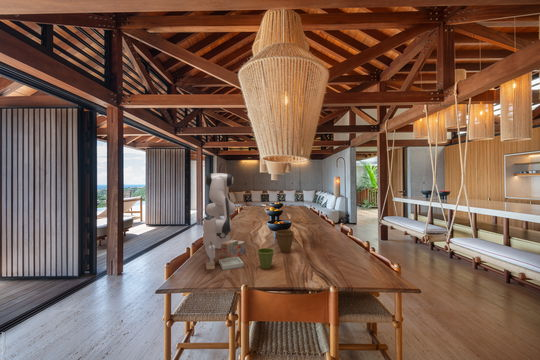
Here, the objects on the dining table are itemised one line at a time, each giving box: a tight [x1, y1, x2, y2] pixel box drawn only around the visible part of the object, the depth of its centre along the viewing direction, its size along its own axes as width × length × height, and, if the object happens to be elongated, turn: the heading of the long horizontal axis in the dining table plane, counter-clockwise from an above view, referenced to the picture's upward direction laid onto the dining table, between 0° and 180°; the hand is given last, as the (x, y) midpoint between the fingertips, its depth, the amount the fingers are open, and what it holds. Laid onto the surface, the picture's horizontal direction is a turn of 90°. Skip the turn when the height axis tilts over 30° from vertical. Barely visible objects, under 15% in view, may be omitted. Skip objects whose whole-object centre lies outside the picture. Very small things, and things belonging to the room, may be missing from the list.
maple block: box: [205, 259, 215, 271], centre depth 161 cm, size 5×5×5 cm
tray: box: [218, 256, 245, 271], centre depth 165 cm, size 14×14×3 cm
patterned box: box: [220, 239, 246, 259], centre depth 185 cm, size 21×6×12 cm, turn 147°
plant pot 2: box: [275, 229, 295, 253], centre depth 195 cm, size 15×15×16 cm
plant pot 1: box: [256, 247, 275, 270], centre depth 161 cm, size 12×12×11 cm
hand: (210, 261), depth 160 cm, fingers open, 8 cm apart
